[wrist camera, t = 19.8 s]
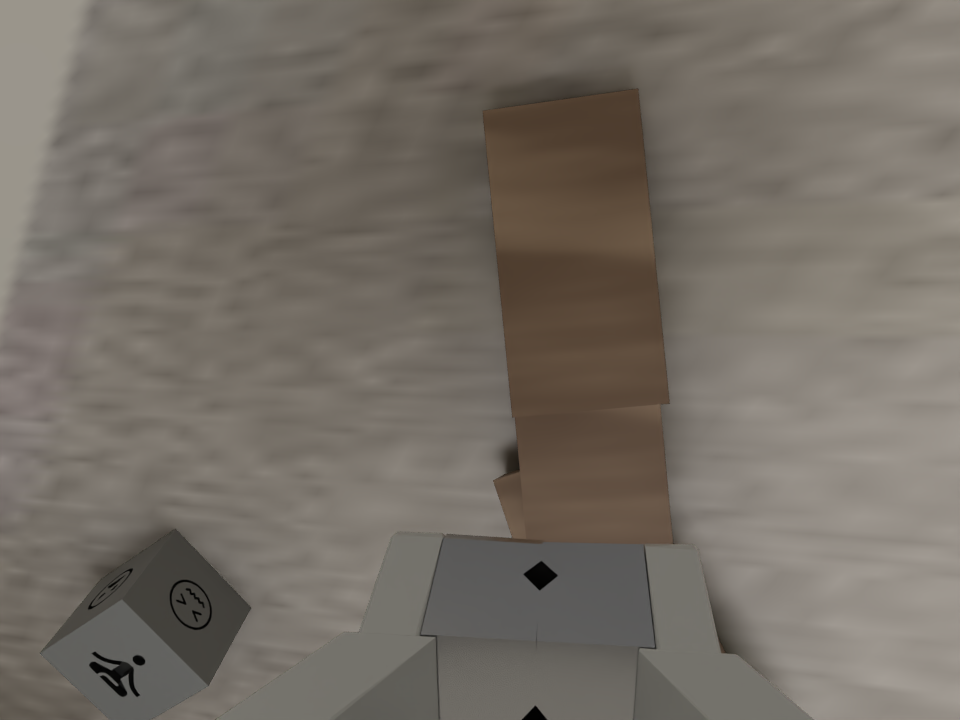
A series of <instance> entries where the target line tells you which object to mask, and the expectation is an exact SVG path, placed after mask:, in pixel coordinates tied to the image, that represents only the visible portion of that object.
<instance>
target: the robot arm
mask: <svg viewBox="0 0 960 720" xmlns="http://www.w3.org/2000/svg"><path fill="white" fill-rule="evenodd" d="M543 541H544V540H532V539H517V538H502V537H487V536H472V535H457V534H446V536H445V535H444V534H442V533H424V532H397V533H396V534H395V535H393V536H392V537H391V539H390V542H389V545H388V548H387V551H386V554H385V556H384V559H383V562H382V565H381V568H380V571H379V574H378V577H377V580H376V583H375V586H374V589H373V592H372V595H371V597H370V600H369V603H368V606H367V609H366V612H365V615H364V618H363V621H362V624H361V627H360V630H359V633H357V632H343V633H342V634H340V635H339V636H337V637H336V638H334V639H333V640H331V641H330V642H328V643H327V644H325V645H324V646H323V647H321V648H320V649H318V650H317V651H315V652H314V653H312V654H311V655H309V656H308V657H306V658H305V659H304V660H302V661H301V662H299V663H298V664H296V665H295V666H293V667H292V668H290V669H289V670H287V671H286V672H285V673H283V674H282V675H280V676H279V677H277V678H276V679H274V680H273V681H271V682H270V683H268V684H267V685H265V686H264V687H263V688H261V689H260V690H258V691H257V692H255V693H254V694H252V695H251V696H249V697H248V698H246V699H245V700H244V701H242V702H241V703H239V704H238V705H236V706H235V707H233V708H232V709H230V710H229V711H227V712H226V713H225V714H223V715H222V716H220V717H219V718H217V719H216V720H814V719H813V718H812V717H810V716H809V715H808V714H807V713H806V712H804V711H803V710H802V709H801V708H800V707H799V706H797V705H796V704H795V703H794V702H793V701H791V700H790V699H789V698H788V697H787V696H786V695H784V694H783V693H782V692H781V691H780V690H779V689H777V688H776V687H775V686H774V685H773V684H771V683H770V682H769V681H768V680H767V679H766V678H764V677H763V676H762V675H761V674H760V673H758V672H757V671H756V670H755V669H754V668H753V667H751V666H750V665H749V664H748V663H747V662H746V661H744V660H743V659H742V658H741V657H740V656H738V655H737V654H724V653H721V650H720V645H719V641H718V636H717V632H716V627H715V623H714V618H713V614H712V609H711V605H710V600H709V596H708V591H707V587H706V582H705V578H704V573H703V569H702V564H701V560H700V555H699V551H698V549H697V548H696V547H695V546H694V545H693V544H612V543H572V542H543Z"/></svg>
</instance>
